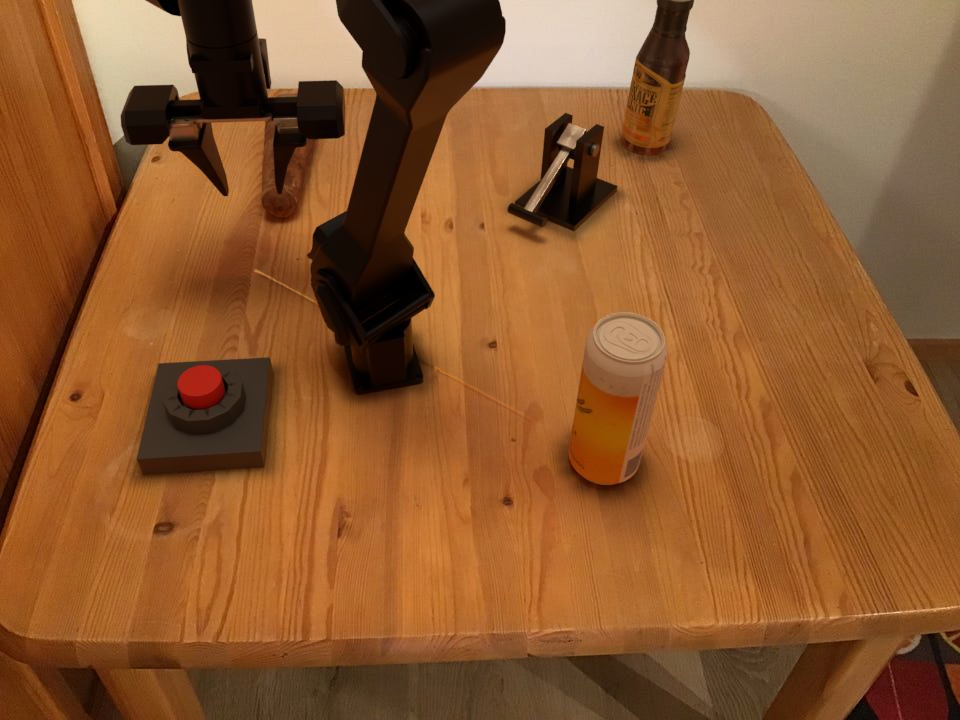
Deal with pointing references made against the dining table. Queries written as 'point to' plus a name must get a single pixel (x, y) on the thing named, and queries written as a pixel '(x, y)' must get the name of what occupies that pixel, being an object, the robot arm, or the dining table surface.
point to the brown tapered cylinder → (293, 181)
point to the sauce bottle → (658, 80)
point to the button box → (208, 420)
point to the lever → (549, 177)
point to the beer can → (616, 396)
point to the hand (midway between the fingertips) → (253, 192)
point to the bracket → (572, 178)
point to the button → (201, 387)
